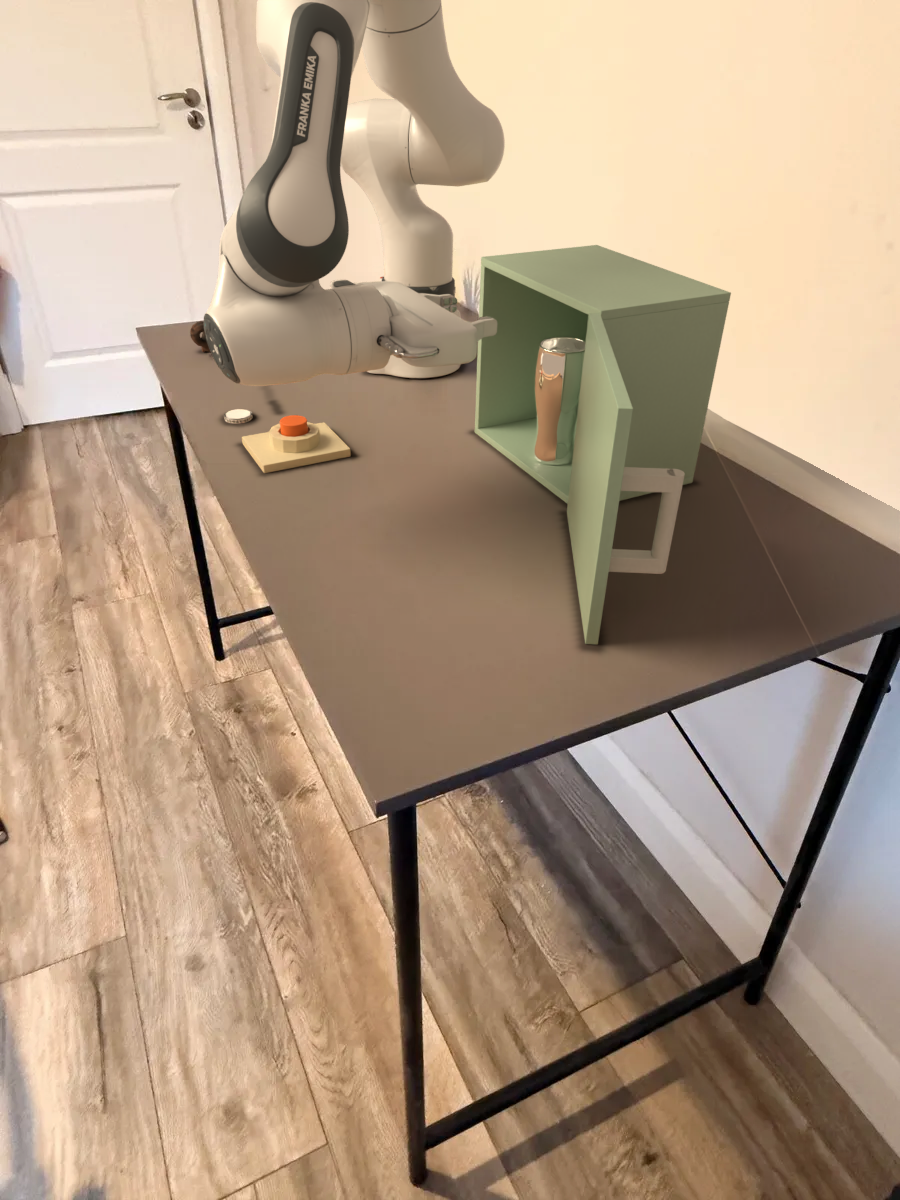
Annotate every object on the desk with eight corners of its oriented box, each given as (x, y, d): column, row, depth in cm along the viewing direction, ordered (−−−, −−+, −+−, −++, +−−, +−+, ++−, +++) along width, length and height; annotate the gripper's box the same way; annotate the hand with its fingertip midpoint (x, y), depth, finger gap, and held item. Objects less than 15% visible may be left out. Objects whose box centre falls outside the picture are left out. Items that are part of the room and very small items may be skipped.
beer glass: (577, 469, 109) (590, 355, 101) (524, 464, 110) (533, 351, 102) (581, 447, 115) (594, 338, 106) (531, 442, 116) (539, 333, 107)
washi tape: (247, 411, 125) (247, 406, 125) (255, 420, 123) (255, 416, 122) (221, 415, 124) (220, 411, 124) (228, 425, 121) (228, 421, 121)
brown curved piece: (227, 340, 154) (244, 302, 149) (256, 374, 151) (274, 337, 147) (171, 338, 145) (187, 298, 140) (201, 375, 142) (219, 335, 137)
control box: (242, 444, 116) (239, 424, 114) (324, 429, 121) (323, 409, 119) (264, 473, 109) (261, 452, 107) (350, 457, 113) (349, 436, 112)
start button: (277, 429, 114) (276, 417, 113) (302, 425, 115) (301, 413, 114) (285, 439, 111) (284, 427, 110) (311, 435, 113) (310, 422, 112)
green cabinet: (577, 512, 102) (601, 310, 88) (474, 432, 121) (481, 256, 107) (692, 483, 109) (731, 292, 95) (578, 412, 128) (596, 244, 114)
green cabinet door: (624, 514, 101) (656, 315, 88) (658, 647, 80) (706, 411, 67) (566, 512, 102) (588, 313, 88) (585, 644, 80) (618, 408, 67)
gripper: (401, 327, 82) (522, 310, 87) (326, 276, 96) (434, 264, 102) (402, 389, 85) (518, 369, 91) (330, 331, 100) (434, 317, 105)
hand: (473, 313), depth 96 cm, fingers open, 8 cm apart
